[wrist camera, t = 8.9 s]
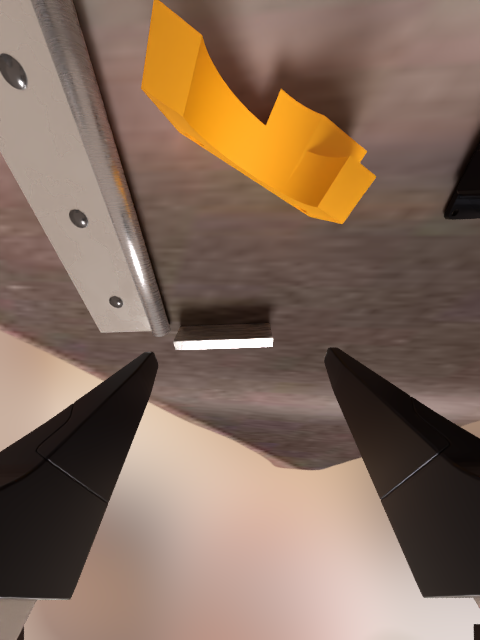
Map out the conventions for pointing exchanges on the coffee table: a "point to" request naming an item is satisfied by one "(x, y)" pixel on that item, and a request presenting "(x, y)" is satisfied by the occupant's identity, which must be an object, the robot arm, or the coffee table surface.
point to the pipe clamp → (252, 126)
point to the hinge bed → (83, 176)
